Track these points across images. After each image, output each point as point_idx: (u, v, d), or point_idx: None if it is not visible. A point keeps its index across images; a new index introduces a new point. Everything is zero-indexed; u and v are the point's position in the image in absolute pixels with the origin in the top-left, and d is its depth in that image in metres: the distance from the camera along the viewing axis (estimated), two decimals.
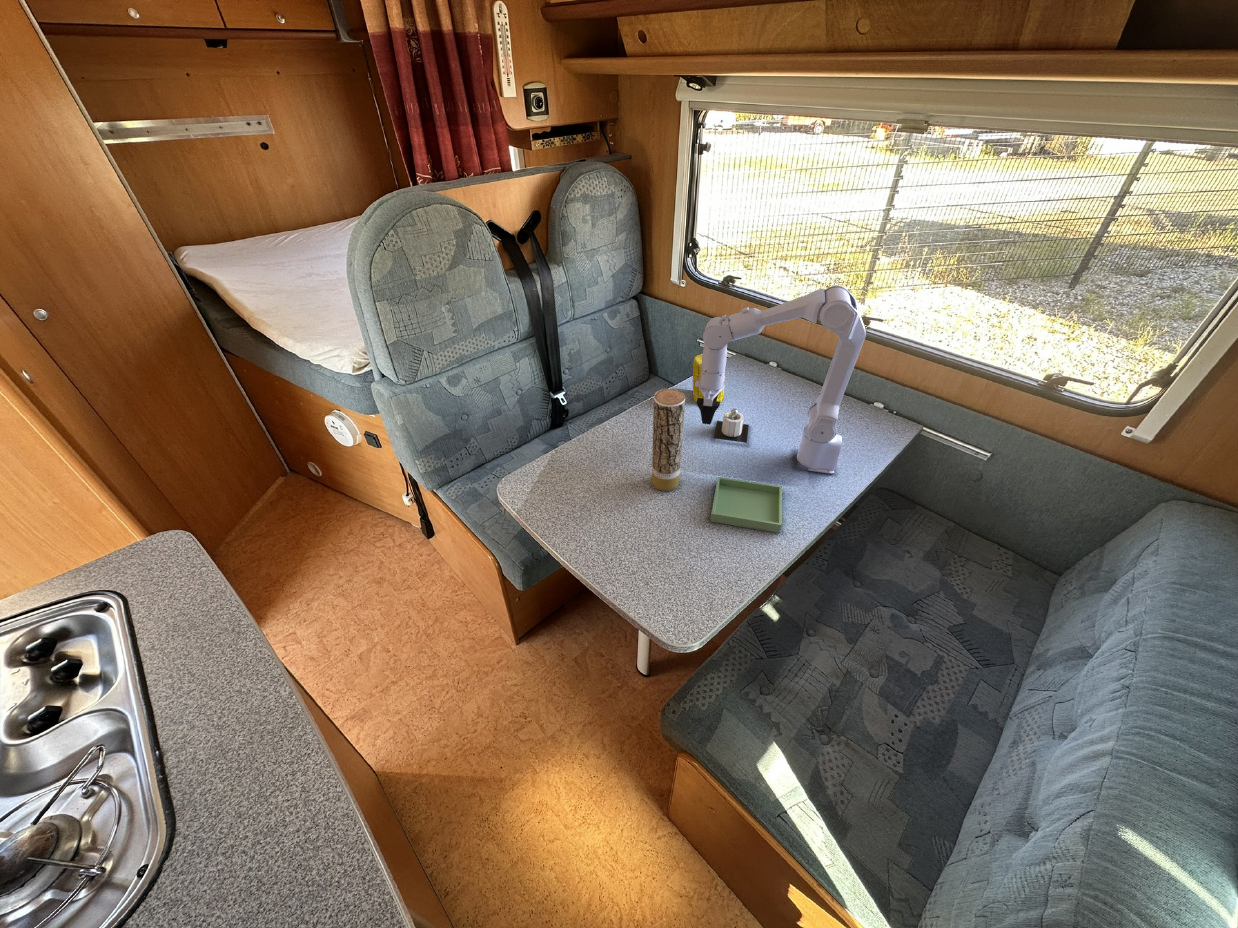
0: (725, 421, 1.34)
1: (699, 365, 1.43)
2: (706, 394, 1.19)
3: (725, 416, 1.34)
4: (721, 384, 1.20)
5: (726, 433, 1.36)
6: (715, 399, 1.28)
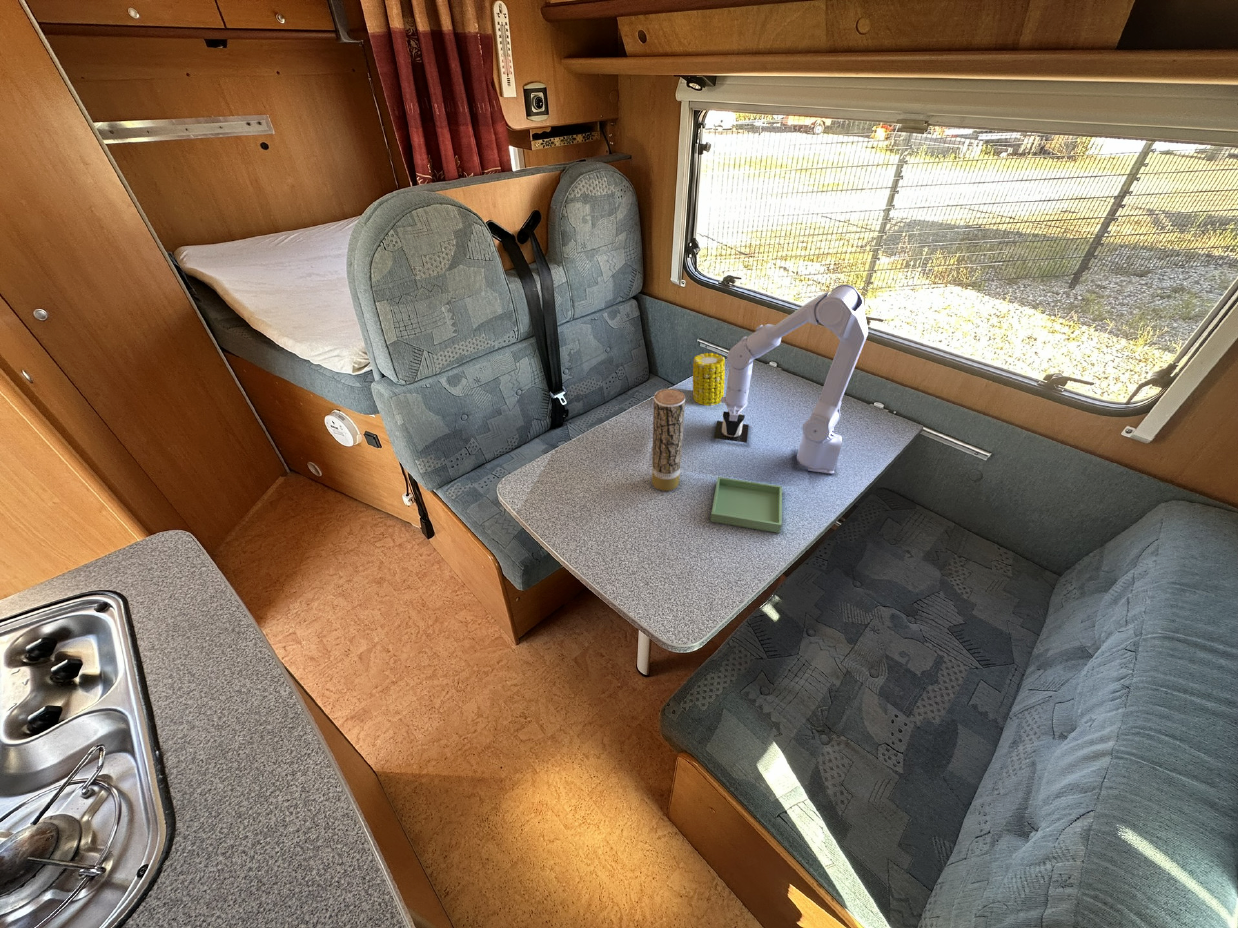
0: None
1: (699, 365, 1.43)
2: (731, 409, 1.28)
3: None
4: (746, 401, 1.29)
5: (726, 433, 1.36)
6: None
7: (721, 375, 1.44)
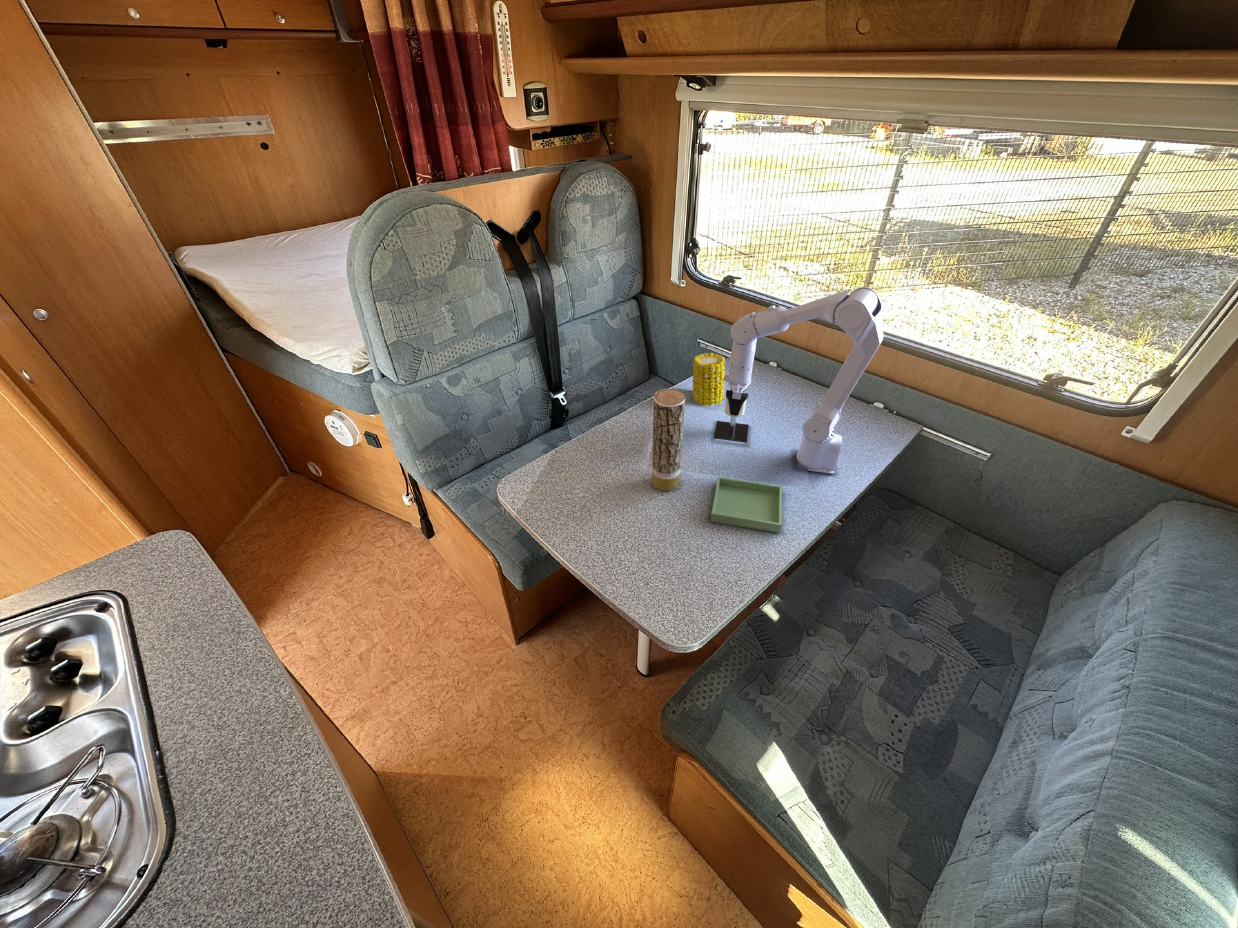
0: None
1: (699, 365, 1.43)
2: (735, 387, 1.24)
3: None
4: (749, 378, 1.25)
5: (729, 413, 1.31)
6: None
7: (721, 375, 1.44)
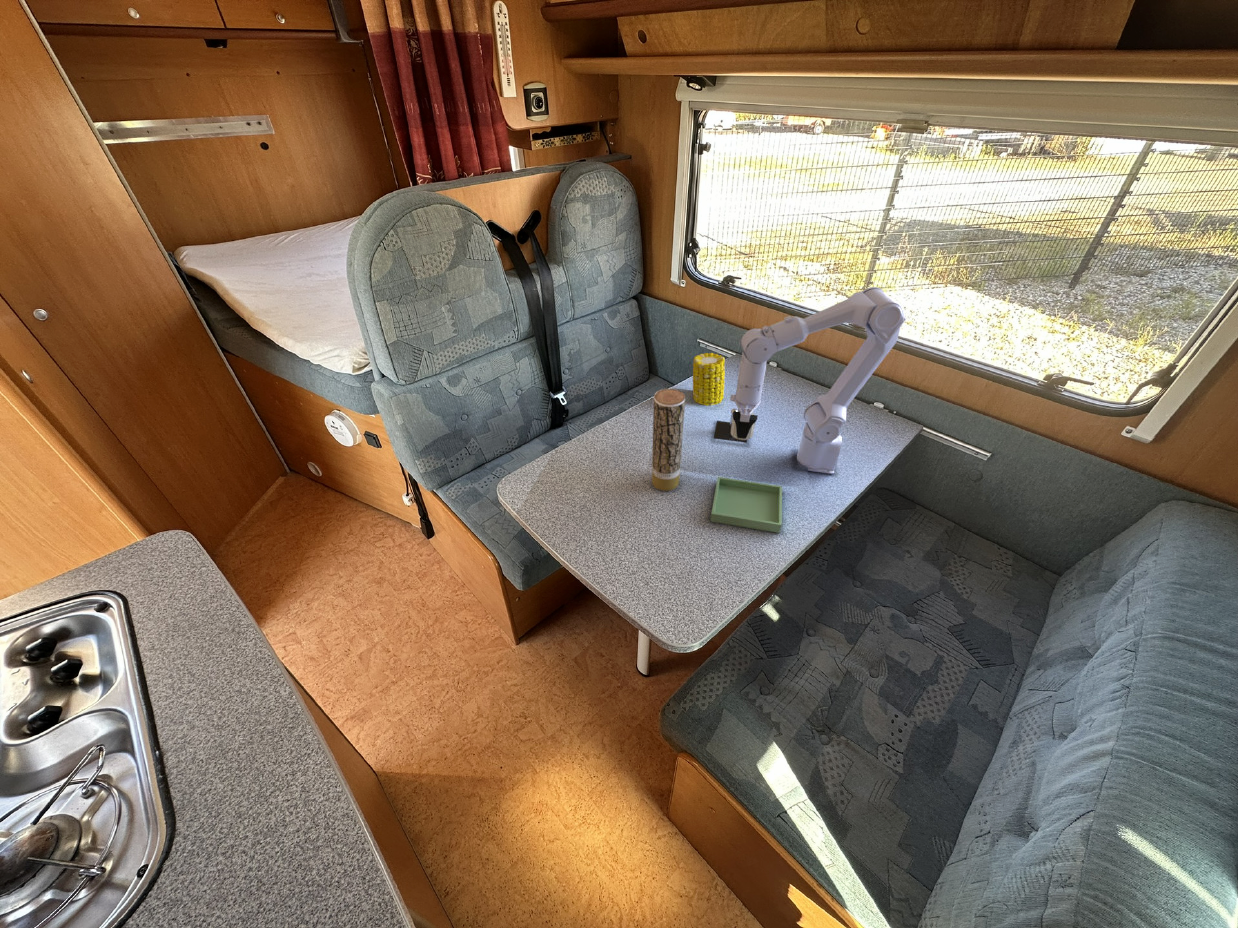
0: None
1: (699, 365, 1.43)
2: (743, 409, 1.12)
3: None
4: (759, 399, 1.14)
5: (736, 436, 1.20)
6: None
7: (721, 375, 1.44)
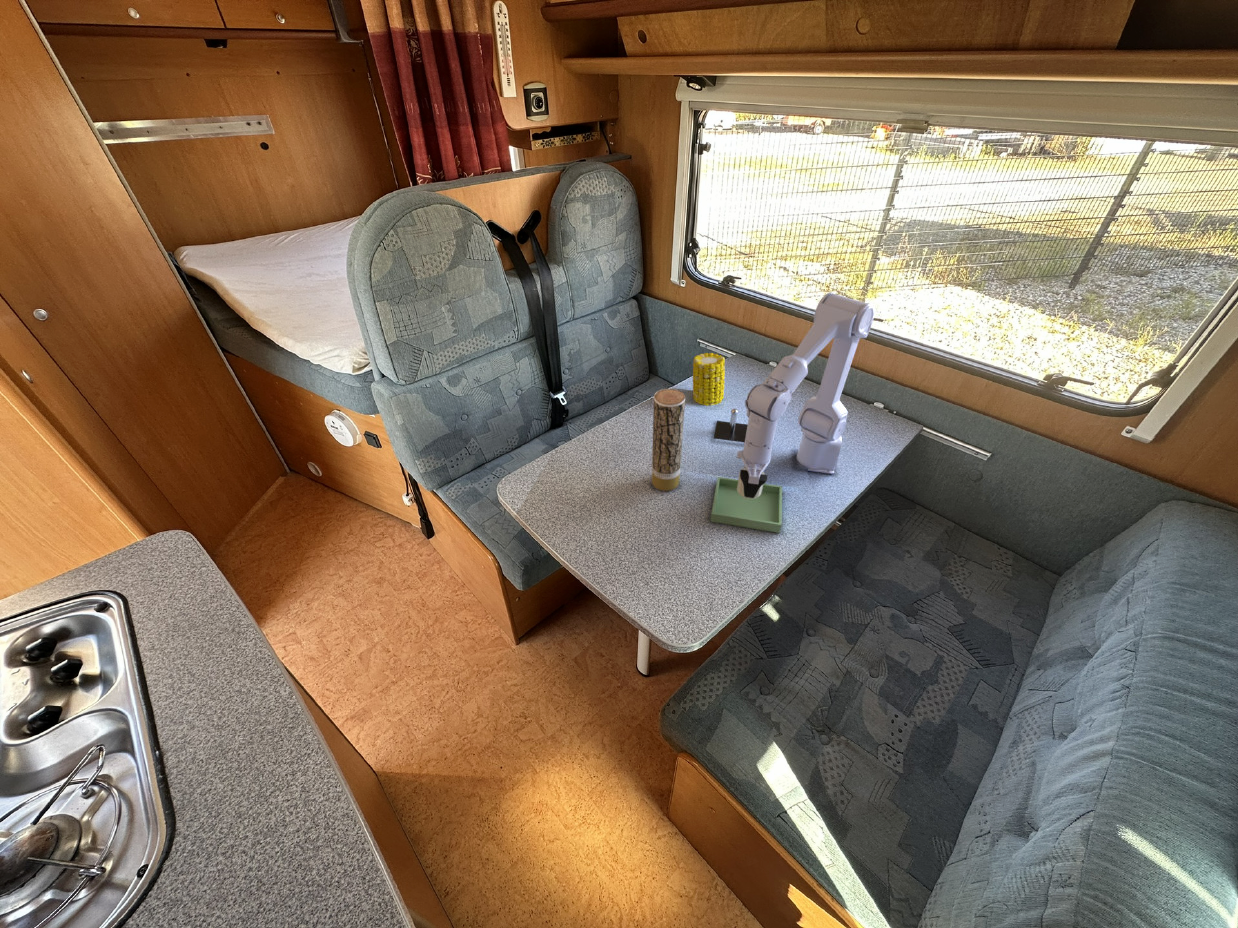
0: None
1: (699, 365, 1.43)
2: (751, 469, 1.02)
3: None
4: (769, 457, 1.04)
5: (743, 494, 1.10)
6: None
7: (721, 375, 1.44)
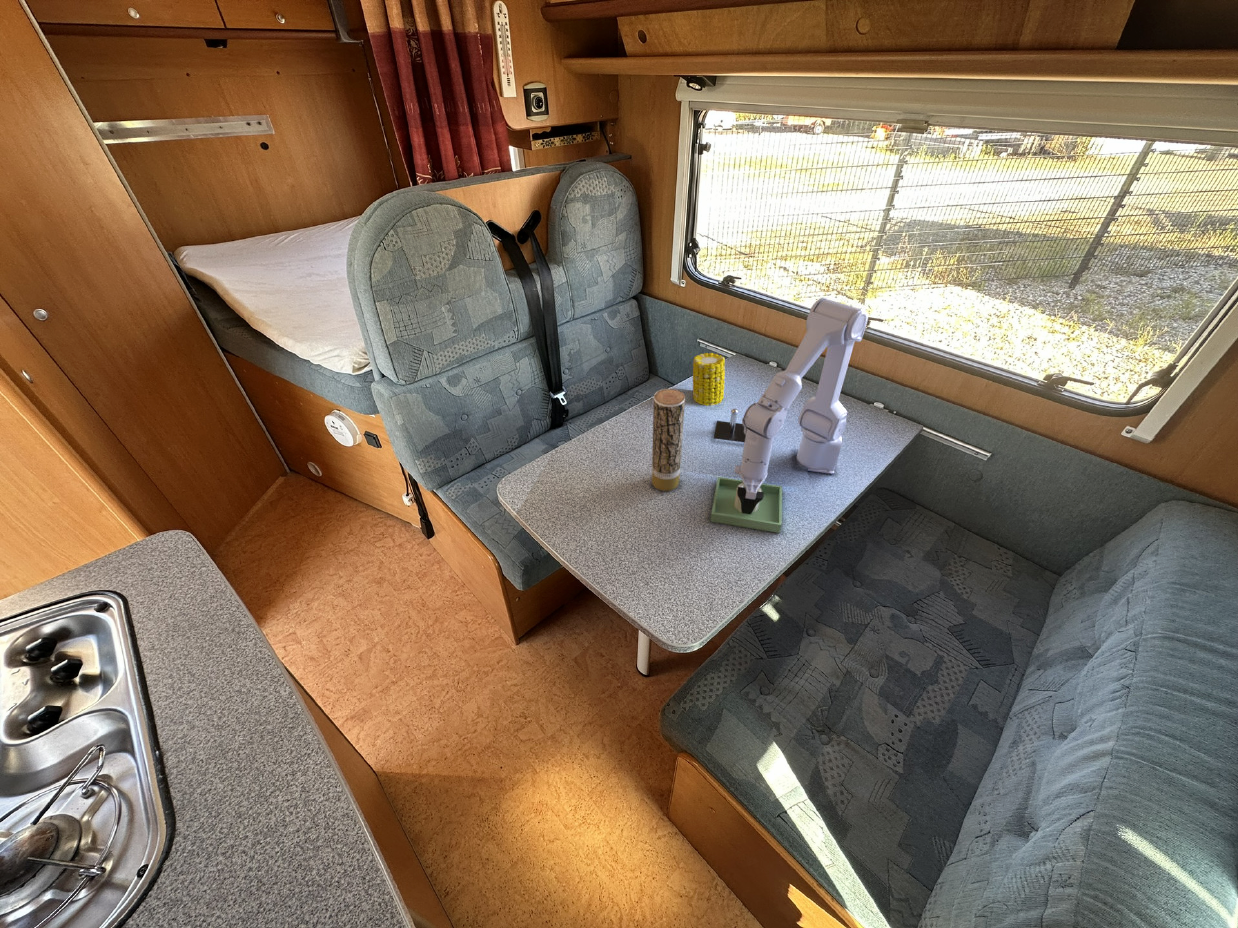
0: None
1: (699, 365, 1.43)
2: (748, 484, 1.05)
3: None
4: (765, 473, 1.06)
5: (740, 509, 1.13)
6: None
7: (721, 375, 1.44)
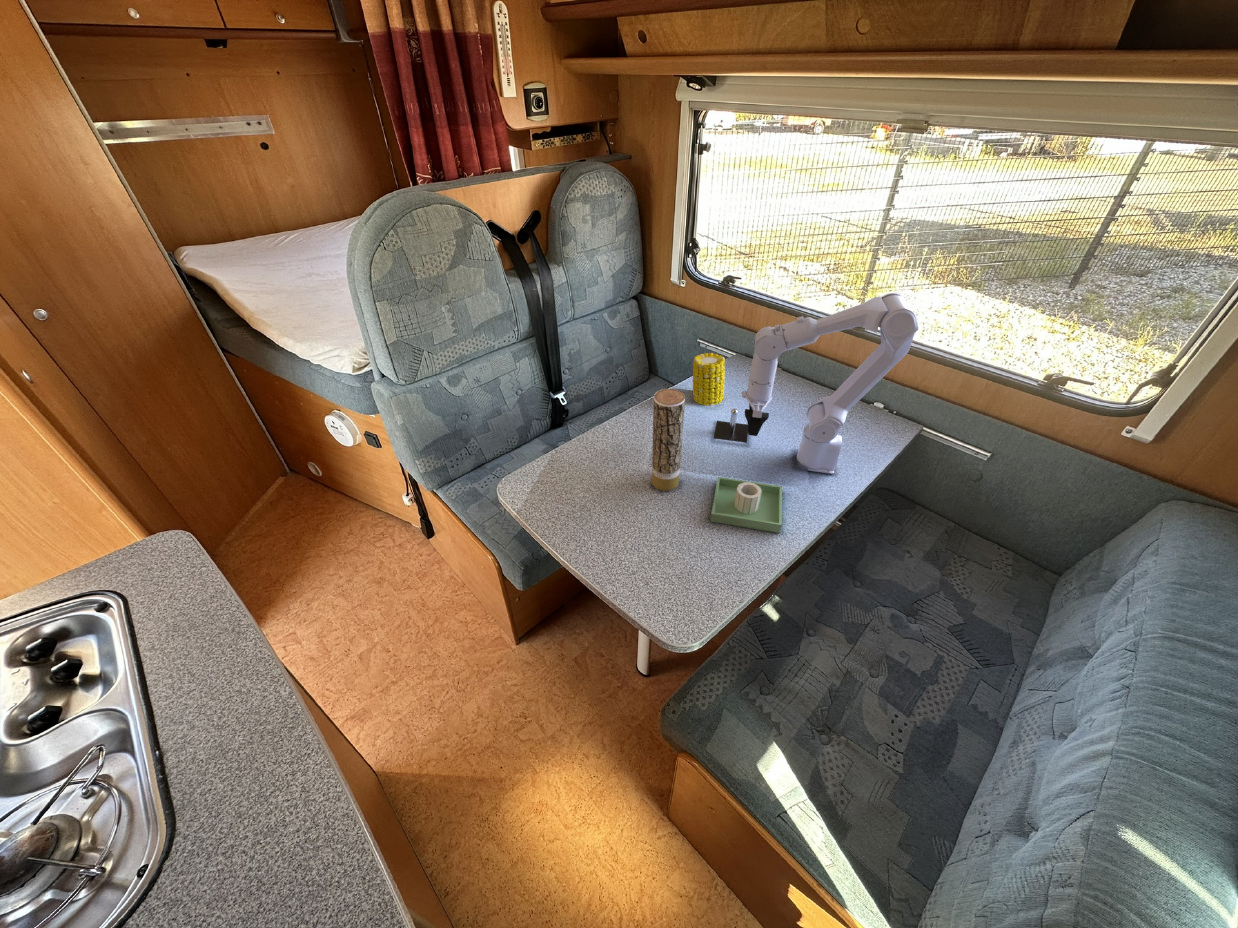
0: (739, 496, 1.11)
1: (699, 365, 1.43)
2: (755, 405, 1.15)
3: (739, 490, 1.12)
4: (770, 395, 1.17)
5: (740, 509, 1.13)
6: None
7: (721, 375, 1.44)
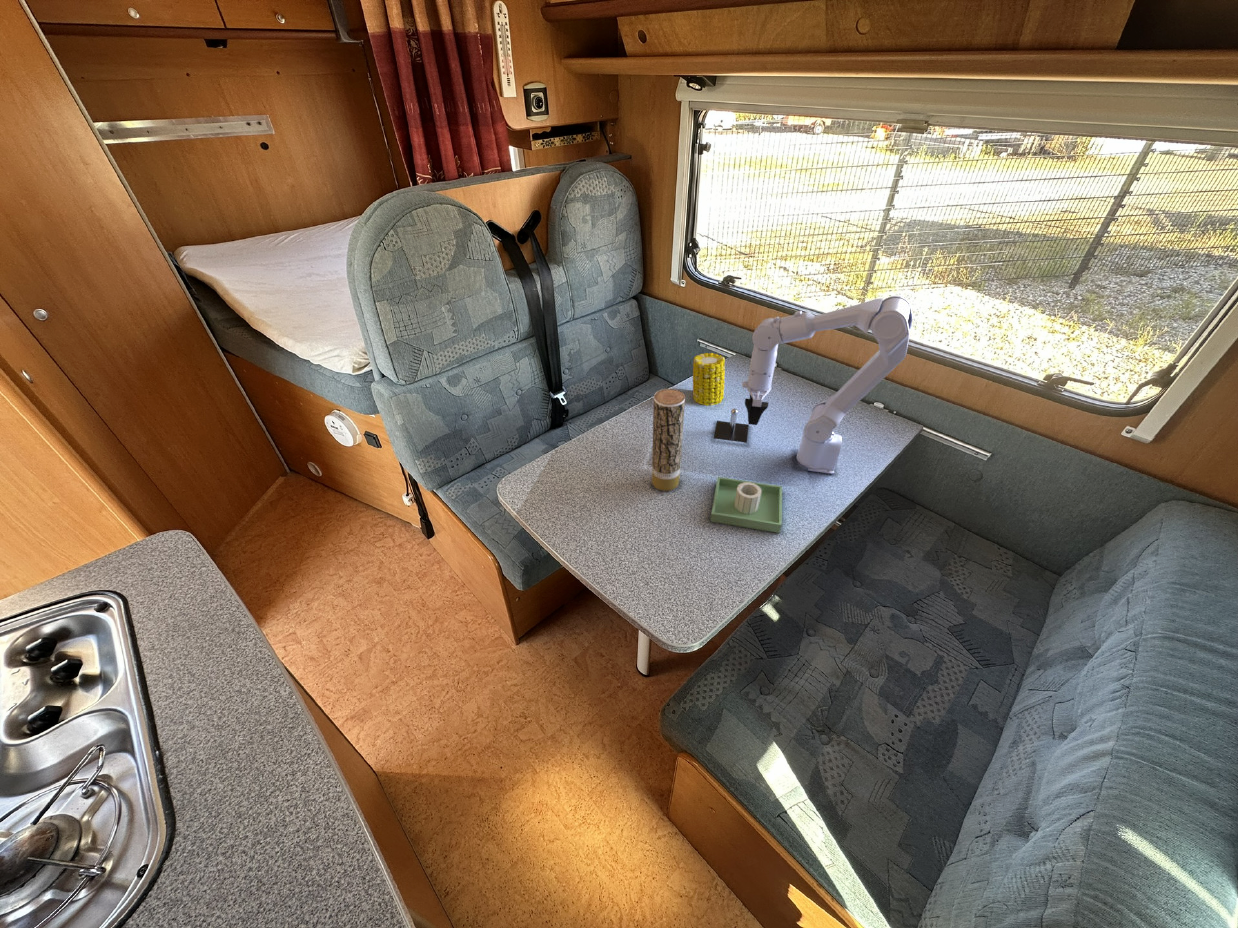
0: (739, 496, 1.11)
1: (699, 365, 1.43)
2: (755, 394, 1.19)
3: (739, 490, 1.12)
4: (770, 385, 1.20)
5: (740, 509, 1.13)
6: None
7: (721, 375, 1.44)
